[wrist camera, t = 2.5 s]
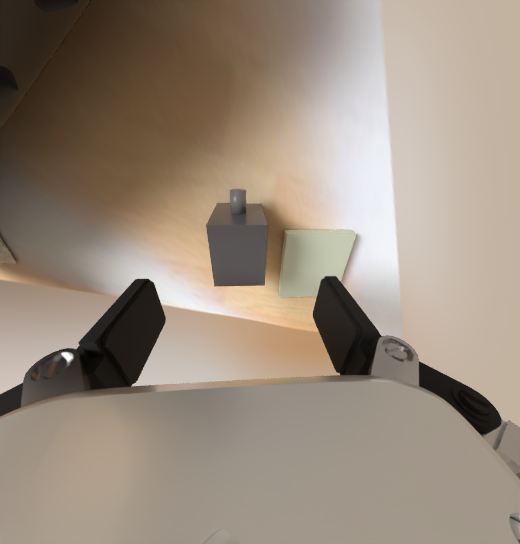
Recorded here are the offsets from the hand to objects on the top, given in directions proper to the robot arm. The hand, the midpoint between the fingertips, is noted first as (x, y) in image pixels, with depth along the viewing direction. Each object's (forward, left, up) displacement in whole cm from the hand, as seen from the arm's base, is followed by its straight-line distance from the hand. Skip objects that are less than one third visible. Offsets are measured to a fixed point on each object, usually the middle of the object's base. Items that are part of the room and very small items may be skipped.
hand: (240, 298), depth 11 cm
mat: (+3, +8, -10) cm, 13 cm away
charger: (-1, 0, -10) cm, 10 cm away
